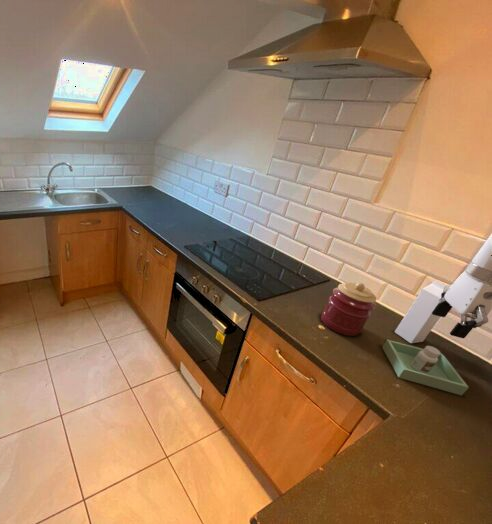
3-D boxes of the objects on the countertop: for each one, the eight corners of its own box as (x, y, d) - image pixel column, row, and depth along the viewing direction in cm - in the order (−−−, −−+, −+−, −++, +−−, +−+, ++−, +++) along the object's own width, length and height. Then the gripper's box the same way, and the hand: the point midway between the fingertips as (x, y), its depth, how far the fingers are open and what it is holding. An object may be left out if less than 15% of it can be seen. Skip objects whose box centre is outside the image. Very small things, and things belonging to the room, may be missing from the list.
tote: (436, 361, 96) (442, 354, 94) (461, 395, 84) (469, 387, 83) (381, 346, 100) (386, 339, 98) (398, 377, 88) (404, 369, 87)
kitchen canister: (345, 340, 101) (369, 297, 92) (312, 316, 111) (331, 276, 103) (368, 332, 106) (393, 291, 98) (335, 310, 116) (355, 271, 108)
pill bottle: (423, 375, 89) (438, 356, 86) (407, 364, 93) (420, 346, 89) (431, 372, 91) (446, 353, 87) (415, 361, 94) (428, 343, 91)
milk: (410, 343, 103) (448, 290, 92) (393, 331, 108) (427, 280, 97) (423, 341, 104) (461, 289, 94) (405, 330, 109) (440, 279, 99)
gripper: (531, 295, 68) (482, 350, 77) (482, 263, 83) (445, 312, 91) (491, 286, 70) (447, 340, 78) (450, 256, 85) (417, 305, 93)
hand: (446, 325), depth 85 cm, fingers open, 9 cm apart
